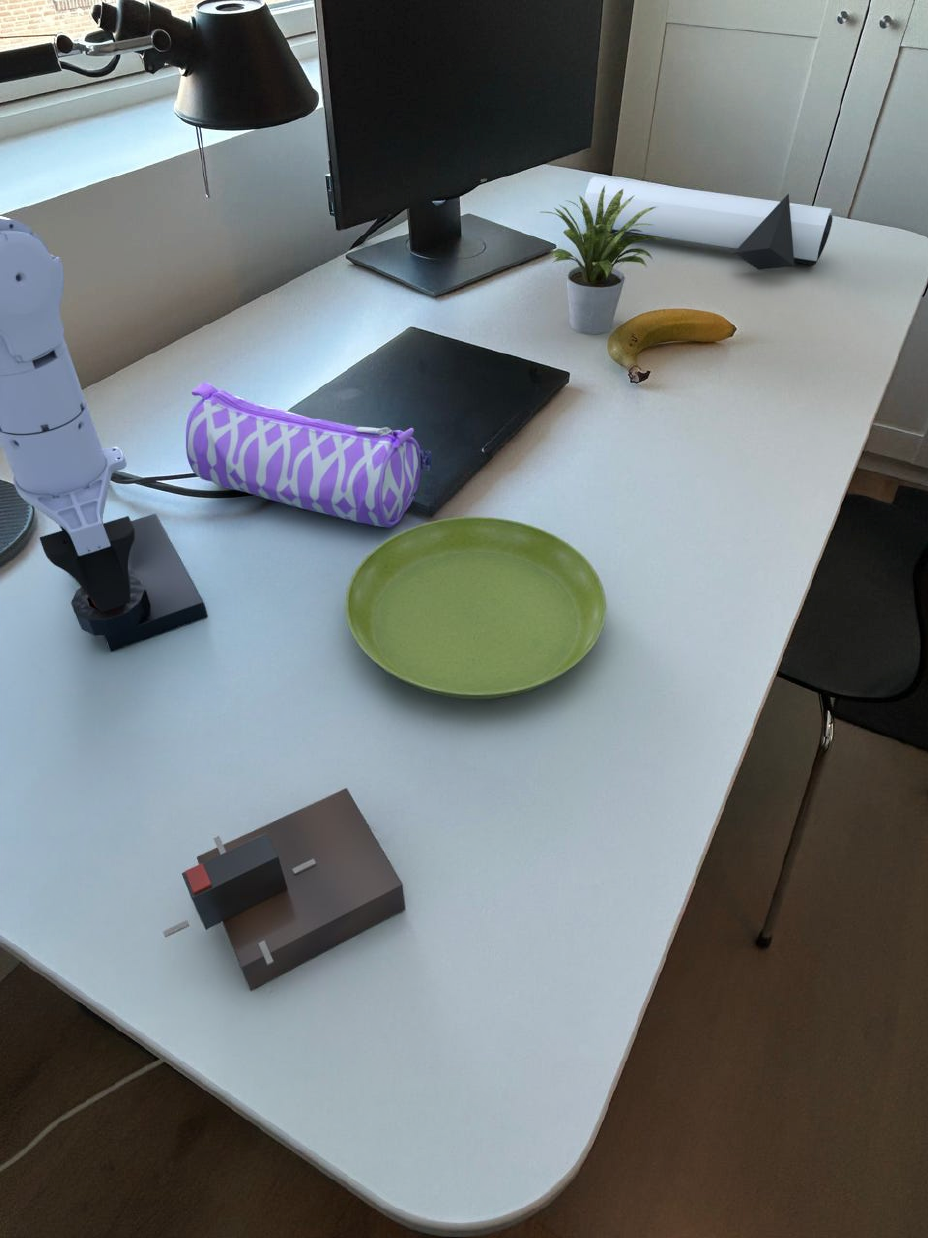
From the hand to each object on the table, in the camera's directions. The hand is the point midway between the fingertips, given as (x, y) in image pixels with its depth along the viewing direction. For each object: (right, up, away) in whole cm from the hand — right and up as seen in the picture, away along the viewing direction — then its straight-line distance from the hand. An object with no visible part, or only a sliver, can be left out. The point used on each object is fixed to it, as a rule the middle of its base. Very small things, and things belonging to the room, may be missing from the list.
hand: (102, 574), depth 65 cm
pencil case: (+12, +8, +20) cm, 25 cm away
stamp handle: (+14, -20, -14) cm, 27 cm away
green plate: (+28, -4, +7) cm, 29 cm away
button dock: (-2, 0, +11) cm, 11 cm away
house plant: (+42, +33, +46) cm, 70 cm away
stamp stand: (+15, -21, -11) cm, 28 cm away
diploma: (+60, +49, +62) cm, 99 cm away
